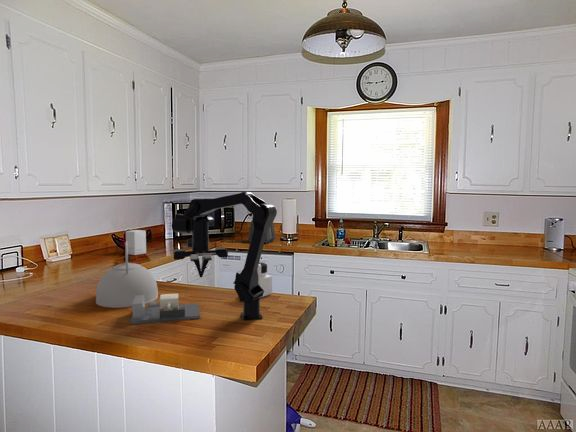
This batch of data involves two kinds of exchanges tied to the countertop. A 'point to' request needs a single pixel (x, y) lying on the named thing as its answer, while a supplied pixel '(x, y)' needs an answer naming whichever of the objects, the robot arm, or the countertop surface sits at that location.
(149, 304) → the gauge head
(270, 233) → the bottle
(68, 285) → the countertop surface
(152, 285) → the grey dome with rod
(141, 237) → the supplement box
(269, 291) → the container
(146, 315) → the gauge bench
